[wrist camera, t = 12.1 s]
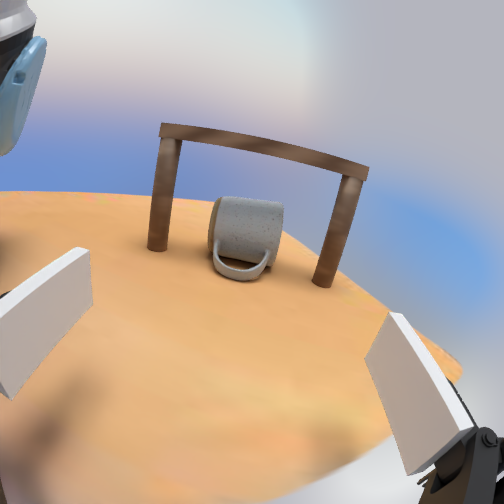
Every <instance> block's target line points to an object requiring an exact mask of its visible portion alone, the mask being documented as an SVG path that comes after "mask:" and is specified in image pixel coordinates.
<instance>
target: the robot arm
mask: <svg viewBox="0 0 504 504" xmlns="http://www.w3.org/2000/svg"><path fill="white" fill-rule="evenodd" d="M36 18H37V17H36V15H35V14H34V13H33V12H32V10H31V9H30V8H29V7H28V5H27V0H0V156H3V155H6V154H7V153H9V152H10V151H11V150H12V149H13V148H14V146H15V145H16V143H17V141H18V139H19V137H20V135H21V132H22V130H23V127H24V124H25V121H26V118H27V115H28V111H29V109H30V105H31V102H32V99H33V96H34V92H35V89H36V86H37V82H38V79H39V75H40V72H41V68H42V65H43V61H44V58H45V54H46V46H47V41H46V39H45V38H41V37H40V36H36V37H34V38H33V31H34V27H35V23H36ZM92 305H93V297H92V286H91V271H90V250H87V249H84V248H80V247H75V248H73V249H72V250H70V251H69V252H67V253H66V254H64V255H62V256H61V257H59V258H58V259H56V260H55V261H53V262H52V263H50V264H49V265H47V266H46V267H44V268H43V269H41V270H40V271H38V272H37V273H35V274H34V275H33V276H31V277H30V278H28V279H27V280H26V281H24V282H23V283H21V284H20V285H19V286H17V287H16V288H15V289H13V290H11V291H9V292H6V293H4V294H2V295H1V296H0V392H1V393H2V394H3V395H4V396H6V397H7V398H8V399H10V400H11V401H12V399H13V398H14V397H15V395H16V394H17V393H18V391H19V390H20V389H21V387H22V386H23V385H24V383H25V382H26V381H27V380H28V378H29V377H30V376H31V374H32V373H33V372H34V371H35V369H36V368H37V367H38V366H39V365H40V363H41V362H42V361H43V360H44V358H45V357H46V356H47V355H48V354H49V353H50V351H51V350H52V349H53V348H54V347H55V346H56V344H57V343H58V342H59V341H60V340H61V339H62V337H63V336H64V335H65V334H66V333H67V332H68V331H69V330H70V329H71V327H72V326H73V325H74V324H75V323H76V322H77V321H78V320H79V319H80V318H81V316H82V315H83V314H84V313H85V312H86V311H87V310H88V309H89V308H90V307H91V306H92ZM364 359H365V362H366V364H367V367H368V369H369V371H370V374H371V376H372V379H373V381H374V384H375V386H376V389H377V391H378V394H379V397H380V399H381V402H382V404H383V407H384V410H385V412H386V415H387V418H388V420H389V423H390V426H391V429H392V431H393V434H394V437H395V440H396V443H397V446H398V449H399V452H400V455H401V458H402V461H403V464H404V467H405V470H406V473H407V476H409V475H413V474H417V473H420V472H423V471H424V470H426V469H427V468H428V467H429V466H431V465H432V464H433V463H434V465H435V467H436V468H435V469H434V470H432V471H431V472H430V473H428V474H427V475H426V476H424V477H423V478H422V479H420V480H419V482H418V483H417V484H418V485H420V484H421V483H422V482H424V481H425V480H427V479H428V481H427V482H426V483H425V484H423V485H422V487H424V488H425V489H424V491H423V494H422V496H421V498H420V501H419V503H418V504H504V477H503V478H501V479H500V480H499V481H498V482H496V478H497V475H499V474H500V473H501V472H502V471H503V470H504V438H498V437H497V435H496V434H495V433H494V431H493V430H491V429H490V428H487V427H482V428H480V429H479V428H478V426H477V425H476V423H475V421H474V419H473V417H472V416H471V414H470V412H469V410H468V409H467V407H466V405H465V403H464V402H463V401H462V398H461V397H460V395H459V394H457V393H458V392H457V390H456V388H455V387H454V385H453V384H452V382H451V381H450V380H448V379H447V378H446V377H445V376H444V374H443V372H442V371H441V369H440V368H439V366H438V365H437V363H436V362H435V360H434V359H433V357H432V356H431V354H430V353H429V351H428V350H427V348H426V347H425V345H424V344H423V343H422V341H421V340H420V338H419V337H418V335H417V334H416V333H415V331H414V330H413V328H412V327H411V326H410V324H409V323H408V322H407V320H406V319H405V317H404V316H403V315H402V314H400V313H393V312H388V314H387V316H386V318H385V321H384V323H383V325H382V327H381V329H380V331H379V332H378V334H377V336H376V338H375V340H374V342H373V344H372V346H371V348H370V349H369V351H368V353H367V355H366V357H365V358H364ZM0 504H7V502H6V498H5V495H4V491H3V487H2V483H1V479H0Z"/></svg>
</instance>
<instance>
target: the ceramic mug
mask: <svg viewBox="0 0 504 504" xmlns="http://www.w3.org/2000/svg"><path fill="white" fill-rule="evenodd" d="M283 210H284V208H283V204H282V203H280V202H273V201H264V200H256V199H248V198H241V197H220V198H218V199H217V200H216V202H215V204H214V206H213V210H212V214H211V218H210V224H209V230H208V248H209V249H210V251H211V252H212V253H213V262H214V265H215V267H216V269H217V270H218V271H219V272H220V273H221V274H222V275H224V276H225V277H228V278H230V279H234V280H240V281H245V280H251V279H253V278H255V277H257V276H258V275H260V274H261V272H262V271H263V270H264V268H265V266H272V265H273V264H274V261H275V259H276V255H277V252H278V248H279V243H280V238H281V232H282V224H283V213H284V211H283ZM218 255H220V256H224V257H228V258H234V259H239V260H243V261H247V262H251V263H256V264H258V265H257V266H255V267H253V268H250V269H247V270H238V269H234V268H231V267H228V266H226V265H225V264H224V263H223V262H221V261H220V259H219V257H218Z"/></svg>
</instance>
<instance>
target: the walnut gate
mask: <svg viewBox="0 0 504 504" xmlns="http://www.w3.org/2000/svg"><path fill="white" fill-rule="evenodd" d="M159 137H161V141H160V147H159V152H158V159H157V165H156V171H155V179H154V186H153V193H152V202H151V211H150V221H149V232H148V245H147V248H148V249H149V250H152V251H156V252H161V251H165V250H166V249H167V242H168V233H169V224H170V216H171V208H172V201H173V193H174V186H175V180H176V174H177V168H178V161H179V156H180V151H181V146H182V140H187V141H194V142H201V143H207V144H213V145H220V146H225V147H231V148H236V149H242V150H247V151H252V152H257V153H261V154H266V155H271V156H275V157H279V158H284V159H288V160H292V161H297V162H300V163H304V164H308V165H312V166H315V167H320V168H323V169H326V170H330V171H333V172H337V173H340V174H343V175H342V179H341V183H340V187H339V191H338V195H337V198H336V202H335V206H334V209H333V213H332V217H331V220H330V223H329V227H328V231H327V234H326V237H325V241H324V244H323V247H322V250H321V254H320V257H319V260H318V263H317V266H316V270H315V273H314V276H313V279H312V281H313V283H314V284H316V285H318V286H320V287H324V288H329V287H331V285H332V282H333V279H334V276H335V273H336V270H337V267H338V265H339V261H340V258H341V256H342V252H343V249H344V246H345V243H346V240H347V237H348V234H349V230H350V227H351V224H352V220H353V217H354V214H355V210H356V207H357V203H358V199H359V196H360V192H361V188H362V185H363V181H366V179H367V175H368V171H369V167H367V166H364V165H361V164H358V163H355V162H352V161H349V160H345V159H343V158H339V157H336V156H332V155H329V154H326V153H322V152H319V151H315V150H311V149H307V148H303V147H300V146H296V145H292V144H288V143H283V142H279V141H274V140H270V139H266V138H261V137H256V136H251V135H246V134H240V133H234V132H229V131H223V130H216V129H210V128H203V127H196V126H188V125H180V124H170V123H161V127H160V132H159Z"/></svg>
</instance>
